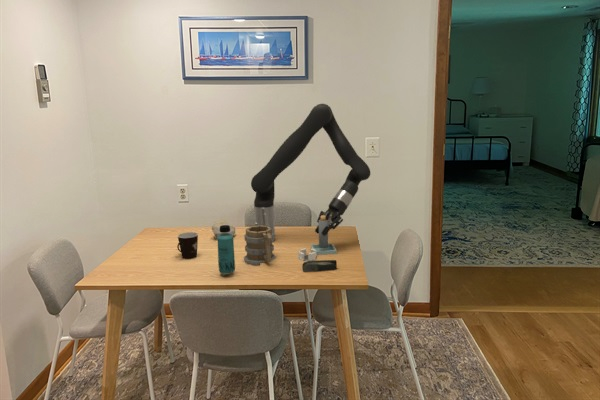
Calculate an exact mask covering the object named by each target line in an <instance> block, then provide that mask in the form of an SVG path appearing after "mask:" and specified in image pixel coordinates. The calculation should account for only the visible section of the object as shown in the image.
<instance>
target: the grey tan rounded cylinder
mask: <svg viewBox="0 0 600 400" xmlns="http://www.w3.org/2000/svg"><path fill="white" fill-rule="evenodd" d="M327 223H328V220H326V216H325V215H321V219H320V220H319V223H318V225H319V234H318V244H319V247H320V248H327V247H328V244H329V232H328V233H327V235H326V236H323V235H322V234H321V233H322V231H323V230H324V228H325V227H327Z"/></svg>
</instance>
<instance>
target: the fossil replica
mask: <svg viewBox="0 0 600 400" xmlns="http://www.w3.org/2000/svg"><path fill="white" fill-rule="evenodd" d="M222 225H229V226H230V232H225V233H230V234H231V235H233V237H234V236H235V234H236V227H235V226H234V225H231V224H229V223H228V221H226V220H222V221H217V222H215V221H214V223H213V224H212V226H211V230H212V233H213V234H214V237H215V238H216V239H217V237H218V236H219V235H220V234H222V233H223V232H220V226H222Z"/></svg>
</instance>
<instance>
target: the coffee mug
mask: <svg viewBox="0 0 600 400" xmlns="http://www.w3.org/2000/svg"><path fill="white" fill-rule="evenodd" d="M198 236H199V234H198V233H197V232H194V231H190V232H189V231H188V232H182V233H179V234H177V239H178V243H177V246H176V248H177V251H178V252H179V253H180V254H181V258H182V259H183V260H193V259H196V258H197V256H198V240H199V237H198Z"/></svg>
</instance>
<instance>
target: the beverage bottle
mask: <svg viewBox="0 0 600 400" xmlns="http://www.w3.org/2000/svg"><path fill="white" fill-rule="evenodd" d="M229 225H230V224H229ZM229 225H222V226H220V232H223V233H222V234H220V235H219V236H218V237H217V238H216V239H217V259H218V260H217V261H218V264H217V266H218V272H219V273H220V274H223V275H227V274H228V275H229V274H232V273H234V272H235V271H236V259H235V245H234V242H235V241H234V236H233V235H231V234H230V233H225V232H230V226H229Z"/></svg>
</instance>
